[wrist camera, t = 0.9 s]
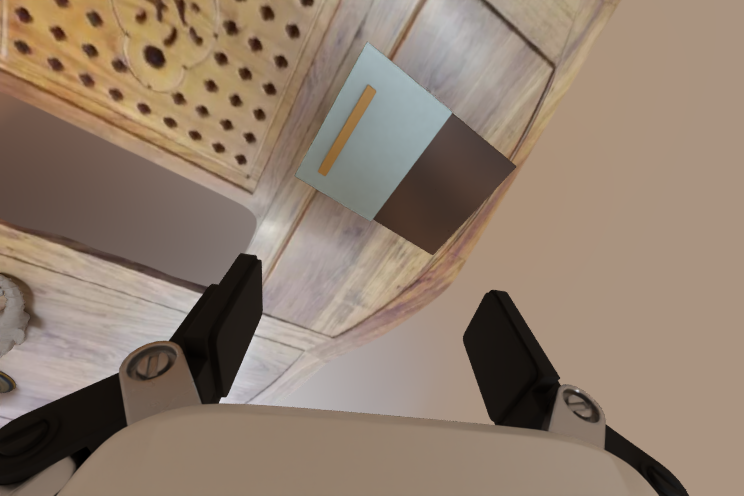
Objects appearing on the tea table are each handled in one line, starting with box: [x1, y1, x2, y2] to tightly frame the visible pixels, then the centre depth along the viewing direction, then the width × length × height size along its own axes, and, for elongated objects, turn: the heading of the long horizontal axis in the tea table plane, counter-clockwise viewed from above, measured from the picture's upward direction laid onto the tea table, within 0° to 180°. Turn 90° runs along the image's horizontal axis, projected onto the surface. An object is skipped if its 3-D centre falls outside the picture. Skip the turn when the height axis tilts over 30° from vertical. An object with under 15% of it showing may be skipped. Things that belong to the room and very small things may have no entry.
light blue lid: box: [295, 42, 452, 222], centre depth 25 cm, size 13×9×3 cm
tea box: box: [373, 113, 516, 255], centre depth 32 cm, size 13×18×10 cm
